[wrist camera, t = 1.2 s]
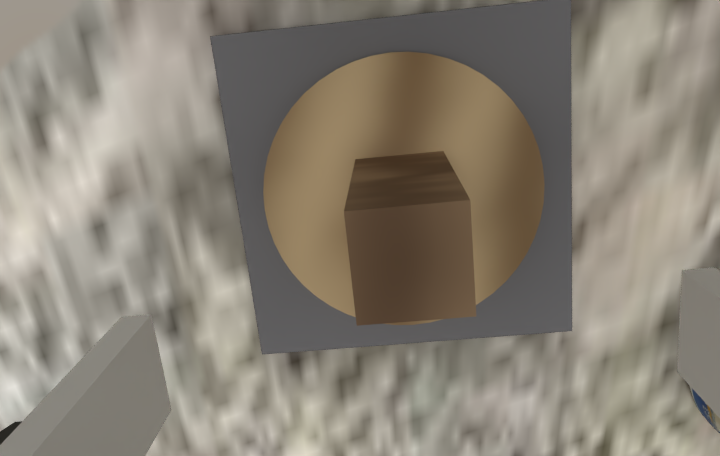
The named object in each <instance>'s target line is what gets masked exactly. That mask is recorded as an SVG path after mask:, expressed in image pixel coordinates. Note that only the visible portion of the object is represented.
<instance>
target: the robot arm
mask: <svg viewBox="0 0 720 456" xmlns="http://www.w3.org/2000/svg"><path fill="white" fill-rule="evenodd" d="M677 372H678V373H679V374H680V376H681V377H682V378H683V379H684V380H685V381H686V382H687V383H688V384H689V385H690V386H691V388H692V389H693V390H694V391H695V392H696V393H697V394H698V395H699V396H700V397H701V398H702V399H703V401H704V402H705V403H706V404H707V405H708V406H709V407H710V408H711V409H712V410H713V411H714V413H715V414H716V415H717V416H718V417H719V418H720V271H719V270H718V269H716V268H715V267H714V268H702V269H690V270H682V278H681V300H680V321H679V343H678V364H677ZM170 411H171V405H170V401H169V396H168V391H167V386H166V382H165V377H164V372H163V368H162V363H161V358H160V353H159V349H158V344H157V339H156V335H155V330H154V325H153V320H152V316H151V314H149V315H137V316H125V317H121V318H120V319H119V320H118V321H117V322H116V323H115V324H114V326H113V327H112V328H111V329H110V330H109V331H108V332H107V333H106V334H105V335H104V336H103V337H102V338H101V339H100V340H99V341H98V342H97V343H96V345H95V346H94V347H93V348H92V349H91V350H90V351H89V352H88V353H87V354H86V355H85V356H84V357H83V358H82V359H81V360H80V361H79V362H78V363H77V365H76V366H75V367H74V368H73V369H72V370H71V371H70V372H69V373H68V374H67V375H66V376H65V377H64V378H63V379H62V380H61V381H60V382H59V384H58V385H57V386H56V387H55V388H54V389H53V390H52V391H51V392H50V393H49V394H48V395H47V396H46V397H45V398H44V399H43V400H42V401H41V402H40V404H39V405H38V406H37V407H36V408H35V409H34V410H33V411H32V412H31V413H30V414H29V415H28V416H27V417H26V418H25V419H24V420H23V421H22V422H14V423H13V424H11V425H10V426H8V427H7V428H5V429H4V430H2V431H0V456H145V455H146V453H147V452H148V450H149V448H150V446H151V445H152V443H153V441H154V439H155V438H156V436H157V434H158V432H159V431H160V429H161V427H162V425H163V424H164V422H165V420H166V418H167V416H168V415H169V413H170Z"/></svg>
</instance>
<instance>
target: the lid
mask: <svg viewBox="0 0 720 456" xmlns="http://www.w3.org/2000/svg"><path fill="white" fill-rule="evenodd" d="M544 186H545V184H544V172H543V164H542V160H541V156H540V151H539V148H538V145H537V142H536V140H535V137H534V134H533V132H532V130H531V128H530V126H529V124H528V123H527V121H526V119H525V117H524V115H523V114H522V113H521V111H520V110H519V109H518V107H517V106H516V105H515V103H514V102H513V101H512V99H511V98H510V97H509V96H508V95H507V94H506V93H505V92H504V91H503V90H502V89H501V88H500V87H499V86H497V85H496V84H495V83H493V82H492V81H491V80H489V79H488V78H487V77H485V76H484V75H483V74H481V73H479V72H477V71H475V70H474V69H472V68H470V67H468V66H466V65H464V64H461V63H459V62H456V61H454V60H451V59H448V58H445V57H440V56H436V55H432V54H428V53H418V52H389V53H383V54H378V55H372V56H369V57H365V58H362V59H359V60H356V61H353V62H351V63H349V64H347V65H345V66H342V67H340V68H338V69H336V70H335V71H333V72H332V73H330V74H329V75H327V76H325V77H324V78H322V79H321V80H319V81H318V82H317V83H316V84H315V85H313V86H312V87H311V88H310V89H309V90H308V91H306V92H305V93H304V94H303V95H302V96H301V98H300V99H299V100H298V101H297V102H296V103H295V104H294V105H293V107H292V108H291V109H290V111H289V112H288V114H287V115H286V117H285V118H284V120H283V121H282V123H281V125H280V127H279V129H278V131H277V133H276V135H275V137H274V139H273V142H272V145H271V148H270V151H269V154H268V157H267V162H266V168H265V173H264V188H263V195H264V207H265V214H266V218H267V223H268V227H269V230H270V233H271V235H272V238H273V241H274V244H275V246H276V247H277V249H278V251H279V253H280V255H281V257H282V259H283V260H284V262H285V263H286V265H287V266H288V268H289V269H290V271H291V272H292V273H293V274H294V275H295V277H296V278H297V279H298V280H299V281H300V282H301V283H302V284H303V285H304V286H305V287H306V288H307V289H308V290H309V291H310V292H312V293H313V294H314V295H315V296H316V297H318V298H319V299H321V300H322V301H324V302H325V303H327V304H328V305H330V306H331V307H333V308H335V309H337V310H339V311H341V312H343V313H345V314H348V315H351V316H354V317H356V324H357V326H360V325H373V324H390V325H416V324H423V323H430V322H434V321H438V320H442V319H450V318H463V317H476V305H477V304H479V303H480V302H481V301H483V300H484V299H486V298H487V297H488V296H490V295H491V294H493V293H494V292H495V291H496V290H497V289H498V288H499V287H500V286H502V285H503V284H504V283H505V282H506V281H507V280H508V278H509V277H510V276H511V275H512V274H513V273H514V271H515V270H516V269H517V268H518V266H519V265H520V263H521V262H522V260H523V259H524V257H525V256H526V254H527V252H528V250H529V248H530V246H531V244H532V242H533V240H534V238H535V235H536V232H537V229H538V226H539V223H540V219H541V214H542V209H543V203H544Z"/></svg>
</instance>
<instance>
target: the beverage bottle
mask: <svg viewBox="0 0 720 456" xmlns="http://www.w3.org/2000/svg"><path fill="white" fill-rule="evenodd" d="M690 389H691V393H692V396H693V399H694V401H695V404H696V405H697V407H698V409H699V410H700V412H701V413H702V415H703V416H704V417H705V418H706V419H707V421H708V422H709V423H710V424H711V425H712V426H713V427H714V428H715V429H716V430H717V431H718V432H719V433H720V418H719V417H718V416H717V415H716V414H715V413H714V411H713V410H712V409H711V408H710V407H709V406H708V405H707V404H706V403H705V402H704V401H703V399H702V398H701V397H700V396H699V395H698V394H697V393H696V392H695V391H694V390H693V389H692V388H691V386H690Z"/></svg>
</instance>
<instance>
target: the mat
mask: <svg viewBox="0 0 720 456" xmlns="http://www.w3.org/2000/svg"><path fill="white" fill-rule="evenodd" d="M210 39H211V45H212V51H213V57H214V63H215V69H216V75H217V81H218V87H219V94H220V100H221V106H222V112H223V118H224V124H225V130H226V136H227V143H228V149H229V155H230V161H231V167H232V173H233V179H234V185H235V191H236V198H237V204H238V210H239V216H240V222H241V228H242V234H243V240H244V247H245V253H246V259H247V265H248V271H249V277H250V283H251V289H252V296H253V302H254V308H255V314H256V320H257V326H258V332H259V338H260V344H261V351H262V354H273V353H286V352H299V351H313V350H326V349H339V348H352V347H366V346H379V345H392V344H405V343H419V342H432V341H445V340H458V339H472V338H485V337H498V336H511V335H525V334H538V333H551V332H564V331H572V176H571V0H542V1H533V2H524V3H514V4H505V5H496V6H487V7H477V8H468V9H459V10H450V11H440V12H431V13H422V14H413V15H404V16H394V17H385V18H376V19H367V20H357V21H348V22H339V23H330V24H320V25H311V26H302V27H293V28H284V29H274V30H265V31H256V32H247V33H237V34H228V35H219V36H210ZM389 52H418V53H428V54H432V55H436V56H440V57H445V58H448V59H451V60H454V61H456V62H459V63H461V64H464V65H466V66H468V67H470V68H472V69H474V70H475V71H477V72H479V73H481V74H483V75H484V76H485V77H487V78H488V79H489V80H491V81H492V82H493V83H495V84H496V85H497V86H499V87H500V88H501V89H502V90H503V91H504V92H505V93H506V94H507V95H508V96H509V97H510V98H511V99H512V101H513V102H514V103H515V105H516V106H517V107H518V109H519V110H520V111H521V113H522V114H523V115H524V117H525V119H526V121H527V123H528V124H529V126H530V128H531V130H532V132H533V134H534V137H535V140H536V142H537V145H538V148H539V151H540V156H541V160H542V164H543V172H544V184H545V186H544V203H543V209H542V214H541V219H540V223H539V226H538V229H537V232H536V235H535V238H534V240H533V242H532V244H531V246H530V248H529V250H528V252H527V254H526V256H525V257H524V259H523V260H522V262H521V263H520V265H519V266H518V268H517V269H516V270H515V271H514V273H513V274H512V275H511V276H510V277H509V278H508V280H507V281H506V282H505V283H504V284H503V285H502V286H500V287H499V288H498V289H497V290H496V291H495V292H494V293H493V294H491V295H490V296H488V297H487V298H486V299H484V300H483V301H481V302H480V303H479V304H477V305H476V317H463V318H450V319H442V320H438V321H434V322H430V323H423V324H416V325H390V324H373V325H360V326H357V324H356V317H354V316H351V315H348V314H345V313H343V312H341V311H339V310H337V309H335V308H333V307H331V306H330V305H328V304H327V303H325V302H324V301H322V300H321V299H319V298H318V297H316V296H315V295H314V294H313V293H312V292H310V291H309V290H308V289H307V288H306V287H305V286H304V285H303V284H302V283H301V282H300V281H299V280H298V279H297V278H296V277H295V275H294V274H293V273H292V272H291V271H290V269H289V268H288V266H287V265H286V263H285V262H284V260H283V259H282V257H281V255H280V253H279V251H278V249H277V247H276V246H275V244H274V241H273V238H272V235H271V233H270V230H269V227H268V223H267V218H266V214H265V207H264V195H263V188H264V173H265V168H266V162H267V157H268V154H269V151H270V148H271V145H272V142H273V139H274V137H275V135H276V133H277V131H278V129H279V127H280V125H281V123H282V121H283V120H284V118H285V117H286V115H287V114H288V112H289V111H290V109H291V108H292V107H293V105H294V104H295V103H296V102H297V101H298V100H299V99H300V98H301V96H302V95H303V94H304V93H305V92H306V91H308V90H309V89H310V88H311V87H312V86H313V85H315V84H316V83H317V82H318V81H319V80H321V79H322V78H324V77H325V76H327V75H329V74H330V73H332V72H333V71H335V70H336V69H338V68H340V67H342V66H345V65H347V64H349V63H351V62H353V61H356V60H359V59H362V58H365V57H369V56H372V55H378V54H383V53H389Z"/></svg>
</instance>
